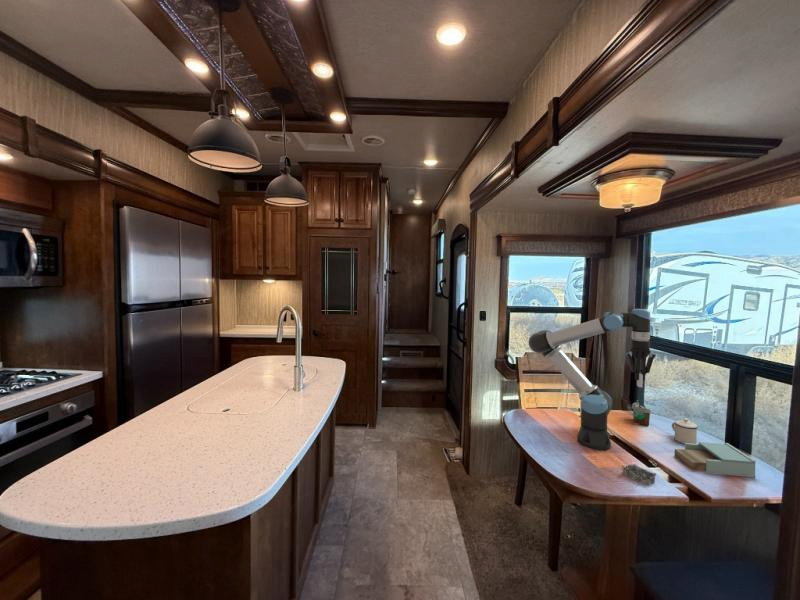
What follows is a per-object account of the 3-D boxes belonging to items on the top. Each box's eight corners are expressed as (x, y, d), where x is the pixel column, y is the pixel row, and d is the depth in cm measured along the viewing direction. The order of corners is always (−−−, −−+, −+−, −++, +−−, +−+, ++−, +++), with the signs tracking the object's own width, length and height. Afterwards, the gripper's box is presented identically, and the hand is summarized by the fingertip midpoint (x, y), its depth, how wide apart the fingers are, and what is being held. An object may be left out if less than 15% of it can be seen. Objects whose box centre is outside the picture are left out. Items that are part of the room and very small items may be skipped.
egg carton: (620, 474, 145) (620, 465, 145) (630, 470, 148) (630, 460, 148) (647, 487, 135) (647, 477, 135) (658, 482, 139) (658, 472, 139)
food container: (627, 418, 204) (627, 401, 203) (638, 418, 203) (638, 402, 203) (638, 426, 192) (638, 409, 191) (650, 427, 191) (650, 409, 190)
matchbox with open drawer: (707, 472, 145) (707, 456, 145) (684, 454, 160) (684, 439, 160) (754, 477, 141) (755, 460, 141) (727, 457, 157) (727, 443, 156)
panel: (691, 471, 147) (692, 462, 147) (674, 457, 159) (674, 448, 159) (739, 474, 144) (740, 465, 144) (718, 460, 156) (718, 451, 156)
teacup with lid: (702, 444, 170) (702, 421, 169) (685, 445, 169) (686, 422, 168) (679, 434, 182) (680, 412, 181) (664, 435, 181) (664, 413, 180)
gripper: (629, 340, 167) (628, 388, 168) (659, 341, 164) (658, 389, 165) (622, 338, 174) (622, 383, 175) (651, 339, 172) (650, 384, 173)
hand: (639, 386), depth 170 cm, fingers closed
